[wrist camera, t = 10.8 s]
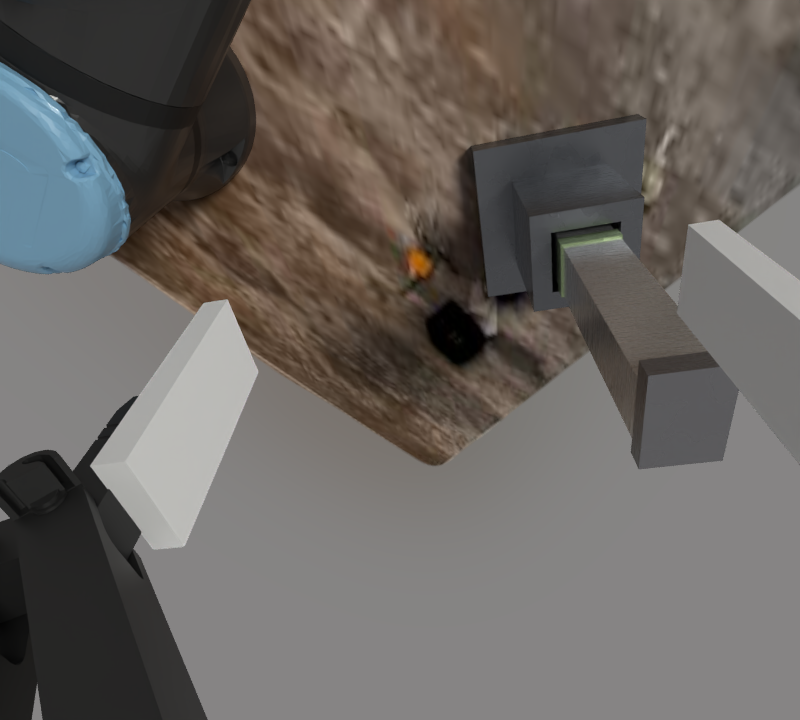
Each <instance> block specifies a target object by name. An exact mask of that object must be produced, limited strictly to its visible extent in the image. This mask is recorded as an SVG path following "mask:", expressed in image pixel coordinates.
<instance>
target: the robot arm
mask: <svg viewBox="0 0 800 720" xmlns="http://www.w3.org/2000/svg"><path fill="white" fill-rule="evenodd" d="M250 1H251V0H0V264H2V265H5V266H8V267H11V268H14V269H18V270H22V271H26V272H32V273H39V274H52V273H62V272H65V273H69V272H74V271H77V270H80V269H83V268H85V267H87V266H89V265H91V264H92V263H94V262H96V261H98V260H99V259H101V258H104V257H105V256H108V255H111V254H112V253H113V252H116V251H117V250H119V248H120V246H121V245H122V244H124V243H125V241H126V240H127V238H128V237H129V236H131V235H132V234H133V233H134V232H135V231H136V230H138V229H139V228H140V227H141V226H142V225H144V224H145V223H146V222H147V221H148V220H149V219H151V218H152V217H153V216H154V215H155V214H156V213H158V212H159V211H160V210H161V209H162V208H164V207H165V206H166V205H167V204H168V203H169V202H171V201H187V200H194V199H198V198H201V197H204V196H207V195H209V194H212V193H214V192H215V191H217V190H219V189H220V188H222V187H223V186H224V185H226V184H227V183H228V182H229V181H230V180H231V179H232V178H233V177H234V176H235V175H236V174H237V173H238V172H239V171H240V169H241V168H242V167H243V165H244V164H245V162H246V160H247V158H248V156H249V154H250V151H251V149H252V145H253V142H254V137H255V129H256V112H255V104H254V99H253V94H252V90H251V87H250V84H249V81H248V78H247V76H246V74H245V71H244V69H243V67H242V65H241V63H240V62H239V60H238V58H237V56H236V55H235V53H234V52H233V50H232V49H231V48H230V45H231V43H232V41H233V38H234V36H235V34H236V32H237V30H238V28H239V25H240V23H241V21H242V19H243V17H244V15H245V12H246V10H247V8H248V6H249V4H250ZM677 314H678V315H679V316H680V318H681V319H682V320H683V321H684V323H685V324H686V325H687V326H688V328H689V329H690V330H691V331H692V333H693V334H694V335H695V336H696V337H697V339H698V340H699V341H700V342H701V344H702V345H703V346H704V347H705V349H706V350H707V351H708V352H709V354H710V355H711V356H712V357H713V358H714V360H715V361H716V362H717V363H718V365H719V366H720V367H721V368H722V370H723V371H724V372H725V373H726V375H727V376H728V377H729V378H730V379H731V381H732V382H733V383H734V384H735V386H736V387H737V388H738V389H739V391H740V392H741V393H742V394H743V395H744V397H745V398H746V399H747V400H748V402H749V403H750V404H751V405H752V406H753V408H754V409H755V410H756V412H757V413H758V414H759V415H760V416H761V418H762V419H763V420H764V421H765V423H766V424H767V425H768V426H769V427H770V429H771V430H772V431H773V432H774V434H775V435H776V436H777V437H778V439H779V440H780V441H781V442H782V444H783V445H784V446H785V447H786V449H787V450H788V451H789V452H790V453H791V455H792V456H793V457H794V458H795V460H796V461H797V462H798V463H799V464H800V280H798V279H797V278H796V277H794V276H793V275H792V274H790V273H789V272H788V271H786V270H785V269H784V268H782V267H781V266H780V265H778V264H777V263H776V262H774V261H773V260H772V259H770V258H769V257H768V256H766V255H765V254H764V253H762V252H761V251H760V250H758V249H757V248H756V247H754V246H753V245H752V244H750V243H749V242H748V241H746V240H745V239H744V238H742V237H741V236H740V235H738V234H737V233H736V232H734V231H733V230H732V229H730V228H729V227H728V226H726V225H725V224H724V223H722V222H721V221H720V220H715V221H708V222H702V223H696V224H690V225H688V231H687V239H686V247H685V255H684V262H683V270H682V278H681V286H680V293H679V301H678V308H677ZM257 375H258V370H257V367H256V365H255V363H254V360H253V358H252V356H251V353H250V351H249V349H248V346H247V344H246V341H245V339H244V337H243V334H242V332H241V330H240V327H239V325H238V323H237V320H236V318H235V316H234V313H233V311H232V309H231V306H230V304H229V302H228V299H226V300H220V301H214V302H207V303H203V305H202V306H201V308H200V309H199V310H198V312H197V313H196V315H195V316H194V318H193V319H192V321H191V322H190V323H189V325H188V326H187V328H186V329H185V331H184V332H183V333H182V335H181V336H180V338H179V339H178V341H177V342H176V343H175V345H174V346H173V348H172V349H171V351H170V352H169V353H168V355H167V356H166V358H165V359H164V361H163V362H162V364H161V365H160V366H159V368H158V369H157V371H156V372H155V373H154V375H153V376H152V378H151V379H150V381H149V382H148V383H147V385H146V386H145V388H144V389H143V391H142V392H141V393H140V395H139V396H135V397H133V398H132V399H130V400H129V401H128V402H127V403H125V404H124V405H123V406H122V407H121V408H119V410H117V411H116V413H115V414H114V415H113V417H112V418H111V420H110V421H109V422H108V424H107V428H104V429H103V431H102V432H101V433H100V435H99V436H98V440H95V442H94V443H93V444H92V446H91V447H90V448H89V450H88V451H87V453H86V454H85V456H84V457H83V458H82V460H81V461H80V462H79V464H78V465H77V467H76V468H75V469H74V470H73V471H72V470H71V469H70V468H69V466H68V465H67V464H66V462H65V461H64V460H63V459H62V457H61V456H60V455H59V454H58V453H57V452H56V451H53V450H43V451H38V452H34V453H32V454H29V455H27V456H25V457H22V458H20V459H19V460H17V461H16V462H14V463H12V464H11V465H9V466H8V467H6V468H5V469H4V470H3V471H2V472H1V473H0V508H1V509H2V510H3V511H4V512H5V513H6V514H7V515H8V516H9V517H10V519H7V520H5V521H1V522H0V720H31V719H32V712H33V706H34V700H35V693H36V686H37V684H38V691H39V697H40V704H41V711H42V718H43V720H207V717H206V715H205V712H204V710H203V708H202V705H201V703H200V700H199V698H198V695H197V693H196V691H195V688H194V686H193V683H192V681H191V679H190V676H189V674H188V671H187V669H186V666H185V664H184V662H183V659H182V657H181V655H180V652H179V650H178V647H177V645H176V642H175V640H174V638H173V635H172V633H171V631H170V628H169V625H168V623H167V621H166V618H165V616H164V614H163V611H162V609H161V606H160V604H159V602H158V599H157V597H156V594H155V592H154V589H153V587H152V584H151V582H150V580H149V577H148V575H147V573H146V570H145V568H144V565H143V563H142V560H141V558H140V557H139V555H138V554H137V553H136V552H135V550H134V549H133V548H134V546H135V544H136V542H137V540H138V538H139V536H140V534H142V536H143V537H144V538H145V540H146V541H147V542H148V543H149V545H150V546H151V548H152V549H153V550H156V549H166V548H176V547H184V546H185V544H186V542H187V539H188V537H189V534H190V532H191V530H192V527H193V525H194V523H195V520H196V518H197V516H198V513H199V511H200V509H201V506H202V504H203V502H204V499H205V497H206V494H207V492H208V490H209V488H210V485H211V483H212V480H213V478H214V476H215V473H216V471H217V469H218V466H219V464H220V462H221V459H222V457H223V454H224V452H225V450H226V448H227V445H228V443H229V440H230V438H231V436H232V433H233V431H234V429H235V426H236V424H237V421H238V419H239V417H240V414H241V412H242V410H243V408H244V405H245V403H246V401H247V398H248V396H249V394H250V391H251V389H252V386H253V384H254V381H255V379H256V377H257Z"/></svg>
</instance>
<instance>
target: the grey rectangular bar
mask: <svg viewBox="0 0 800 720" xmlns="http://www.w3.org/2000/svg"><path fill="white" fill-rule="evenodd" d="M551 254H552V273H553V275H554V277H555V279H556V281H557V283H558V291H559V293H560V296H561V297H564V298H565V300H566V302H567V304H568V306H569V308H570V310H571V312H572V314H573V316H574V319H575V321H576V323H577V325H578V327H579V329H580V331H581V333H582V335H583V337H584V339H585V341H586V344H587V346H588V348H589V350H590V352H591V354H592V356H593V358H594V360H595V362H596V364H597V366H598V369H599V371H600V373H601V375H602V377H603V379H604V381H605V383H606V385H607V387H608V389H609V391H610V393H611V396H612V398H613V400H614V402H615V404H616V406H617V408H618V410H619V412H620V414H621V416H622V419H623V421H624V423H625V424H626V427H627V429H628V431H629V433H630V435H631V437H632V445H631V454H632V456H633V458H634V460H635V462H636V464H637V466H638V469H646V468H655V467H665V466H674V465H684V464H693V463H703V462H713V461H722V460H723V457H724V452H725V448H726V443H727V439H728V435H729V430H730V426H731V421H732V417H733V413H734V408H735V404H736V400H737V395H738V391H739V389H738V388H737V387H736V386H735V384H734V383H733V382H732V381H731V379H730V378H729V377H728V376H727V375H726V373H725V372H724V371H723V370H722V368H721V367H720V366H719V365H718V363H717V362H716V361H715V360H714V358H713V357H712V356H711V355H710V354H709V352H708V351H707V350H706V349H705V347H704V346H703V345H702V344H701V342H700V341H699V340H698V339H697V337H696V336H695V335H694V334H693V333H692V331H691V330H690V329H689V328H688V326H687V325H686V324H685V323H684V321H683V320H682V319H681V318H680V316H679V315H678V314H677V308H678V306H677V305H676V303H675V302H674V301H673V300H672V299H671V297H670V296H669V295H668V294H667V293H666V291H665V290H664V289H663V288H662V287H661V285H660V284H659V283H658V282H657V280H656V279H655V278H654V277H653V276H652V274H651V273H650V272H649V271H648V270H647V268H646V267H645V266H644V265H643V264H642V262H641V261H640V260H639V259H638V258H637V256H636V255H635V254H634V253H633V252H632V250H631V249H630V248H629V247H628V246H627V244H626V243H625V242H624V241H623V234H622V233H621V232H620V231H619V230H618V229H613V228H612V226H611V225H610V224H609V223H608V224H602V225H596V226H590V227H584V228H578V229H572V230H566V231H560V232H554V233H551Z"/></svg>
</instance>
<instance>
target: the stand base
mask: <svg viewBox="0 0 800 720" xmlns="http://www.w3.org/2000/svg"><path fill="white" fill-rule="evenodd" d="M645 131H646V118H644V117H642V116H640V115H638V114H636V115H631V116H626V117H621V118H615V119H610V120H605V121H600V122H594V123H589V124H584V125H579V126H573V127H568V128H563V129H558V130H552V131H547V132H542V133H537V134H531V135H526V136H521V137H516V138H510V139H505V140H500V141H495V142H489V143H484V144H479V145H474V146H471V149H472V159H473V168H474V178H475V187H476V196H477V206H478V215H479V224H480V234H481V243H482V253H483V262H484V271H485V281H486V289H487V293H488V297H491V296H497V295H504V294H511V293H517V292H524V291H527V293H528V296H529V299H530V302H531V304H532V307H533V310H534V312H535V311H541V310H548V309H555V308H562V307H569V306H568V304H567V302H566V300H565V298H564V297H561V296H560V293H559V291H558V283H557V281H556V279H555V277H554V275H553V273H552V254H551V233H554V232H560V231H566V230H572V229H578V228H584V227H590V226H596V225H602V224H608V223H609V224H610V225H611V226H612V228H613V229H618V230H619V231H620V232H621V233H622V234H623V241H624V242H625V243H626V244H627V246H628V247H629V248H630V249H631V250H632V252H633V253H634V254H635V255H636V256H637V258H638V259H639V260H640V247H641V234H642V221H643V208H644V197H643V196H642V195H641V186H642V172H643V159H644V145H645Z"/></svg>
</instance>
